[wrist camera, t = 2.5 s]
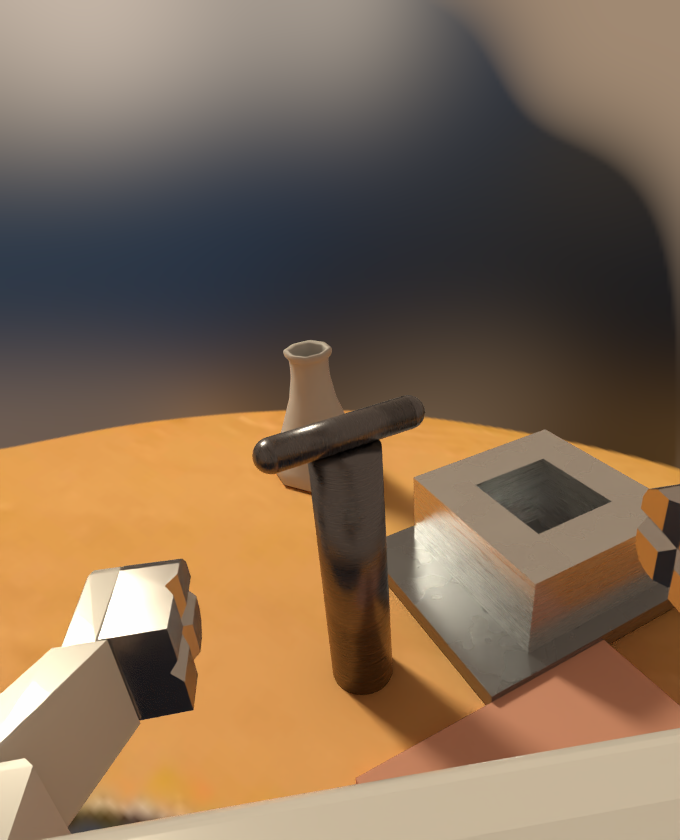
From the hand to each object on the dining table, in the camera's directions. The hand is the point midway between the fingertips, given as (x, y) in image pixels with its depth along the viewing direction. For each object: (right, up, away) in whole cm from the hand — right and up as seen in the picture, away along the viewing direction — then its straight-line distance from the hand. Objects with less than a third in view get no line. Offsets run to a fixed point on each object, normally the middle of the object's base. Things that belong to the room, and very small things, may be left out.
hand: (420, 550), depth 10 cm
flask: (-3, -2, +36) cm, 36 cm away
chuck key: (0, -10, +19) cm, 22 cm away
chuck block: (+10, -7, +24) cm, 27 cm away
